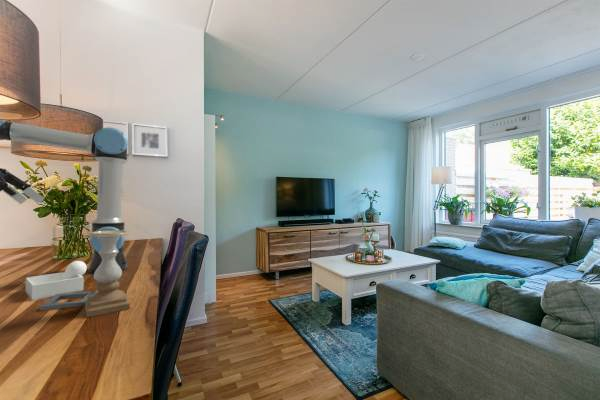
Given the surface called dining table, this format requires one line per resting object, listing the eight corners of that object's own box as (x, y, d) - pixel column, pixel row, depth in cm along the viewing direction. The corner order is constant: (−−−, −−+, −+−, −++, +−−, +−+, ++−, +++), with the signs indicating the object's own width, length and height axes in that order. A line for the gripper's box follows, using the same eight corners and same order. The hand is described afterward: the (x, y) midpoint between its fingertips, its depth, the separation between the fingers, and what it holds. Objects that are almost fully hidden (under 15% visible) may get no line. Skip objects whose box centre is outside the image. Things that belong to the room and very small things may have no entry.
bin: (73, 283, 108) (73, 270, 108) (83, 290, 100) (83, 277, 100) (25, 291, 98) (25, 277, 98) (32, 300, 89) (32, 285, 89)
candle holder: (84, 306, 86) (86, 231, 86) (125, 298, 93) (127, 229, 93) (85, 318, 77) (88, 234, 77) (130, 308, 84) (132, 232, 84)
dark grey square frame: (55, 298, 92) (55, 294, 92) (96, 293, 97) (96, 290, 97) (39, 310, 82) (39, 306, 82) (86, 305, 86) (86, 301, 86)
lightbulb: (50, 283, 96) (80, 259, 102) (46, 279, 100) (75, 256, 106) (65, 293, 99) (92, 268, 105) (61, 289, 103) (88, 266, 109)
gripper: (-12, 169, 107) (38, 207, 113) (-61, 161, 84) (5, 209, 91) (7, 157, 109) (55, 194, 116) (-36, 146, 87) (26, 193, 93)
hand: (33, 201), depth 103 cm, fingers open, 13 cm apart
